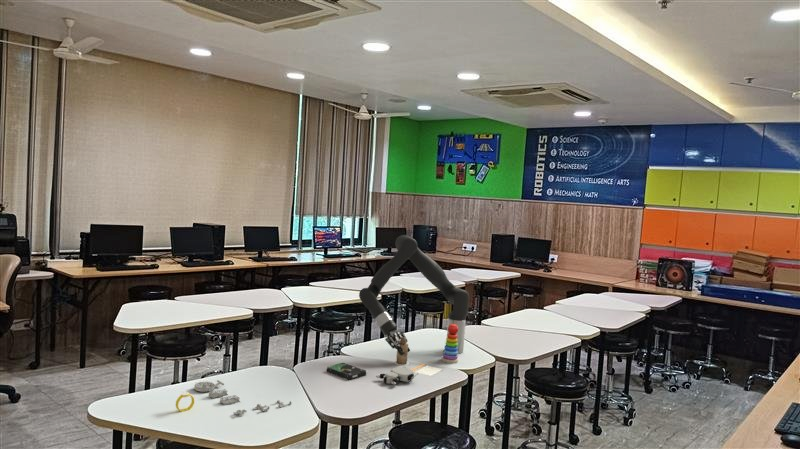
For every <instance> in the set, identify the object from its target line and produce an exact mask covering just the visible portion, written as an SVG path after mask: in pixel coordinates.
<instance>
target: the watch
mask: <svg viewBox="0 0 800 449" xmlns="http://www.w3.org/2000/svg"><path fill="white" fill-rule="evenodd" d="M188 397H190V398H191V402H190V405H189V406H188V407H187V408H186V407H185V408H182V409H180V407H179V405H180V404H179V403H180V401H181V399H183V398H188ZM194 405H195V397H194V396H193V395H192V394H190V392H188V391H187V392H185V391H184V392H181V394H180V396H179V397H177V399H176V400H175V408H176V409H177V410H178V411H180V412H186V411H189V410H190V411H191V409H192V408H193V407H194Z"/></svg>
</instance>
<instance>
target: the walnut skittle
mask: <svg viewBox="0 0 800 449" xmlns="http://www.w3.org/2000/svg"><path fill="white" fill-rule="evenodd" d="M405 337H406V336H405ZM405 337H401V339H400V340H401V343H399V345H400V346H401V348H402V349H403V351H404V354H403V355H400V354H399V352H398V351H397V350H396V363H398V364H407V362H408V355H409V354H408V353H409V352H408V347H409V343H408V342H407V343H406V339H407V337H406V338H405Z"/></svg>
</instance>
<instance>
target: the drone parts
mask: <svg viewBox="0 0 800 449" xmlns="http://www.w3.org/2000/svg"><path fill="white" fill-rule="evenodd" d="M216 382H217V383H214V382H212V381H211V382H210V381H199V382H196V383H194V389H193V390H195V391H196V392H197V391H198V392H200V394H202V393H204V392H205V393H206V392H208V396H209V397H211V398H212V399H214V398H219V402H220V404H223V406H224V405H233V404H235V403H241V400H240V399H241V398H240V397H239V396H237V395H235V394H234V395H229V396H228V390H226V389H225V388H224V389H219V390H218V389H217V390H215V388H216V387H218V386H220V385H221V386H224V385H225V383H224V382H222V381H220V380H216ZM284 403H285V402H281V399H278V400H276V403H271V404H270V406H275V405H278V407H279V408H283V407H285V408H286V407H289V406H291V405H292V401H289V402H288V403H285V404H284ZM270 406H268V405H266V404H265V405H262V404H261V403H258V404H256V407H252V410H259V411H261V412H267V411H268V410H270ZM247 412H248V410H246V409H242V410H241V409H238V410H236V411H233V414H238V415H239V416H240V415H244V414H245V413H247Z"/></svg>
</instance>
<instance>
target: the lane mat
mask: <svg viewBox="0 0 800 449" xmlns="http://www.w3.org/2000/svg"><path fill="white" fill-rule="evenodd" d="M396 361H397V360H396ZM396 361H394V362H393V363H394V364H395V365H397V366H400V367H404V366H408V365H410V362H408V361H407V364H398V363H396ZM425 365H426V363H423V364H420V365H418V366H416V367H414V368H412V369H411V370H412V371H413V372H414V371H415V373H416V374H417V373H418V374H422V375H425V376H430V377H431V376H432V377H433V376H434V375H436V374H438V373H439V372H441V371H443V369H442V368H440V367H434V366H430V365H426V366H425ZM421 367H422V368H421Z"/></svg>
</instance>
